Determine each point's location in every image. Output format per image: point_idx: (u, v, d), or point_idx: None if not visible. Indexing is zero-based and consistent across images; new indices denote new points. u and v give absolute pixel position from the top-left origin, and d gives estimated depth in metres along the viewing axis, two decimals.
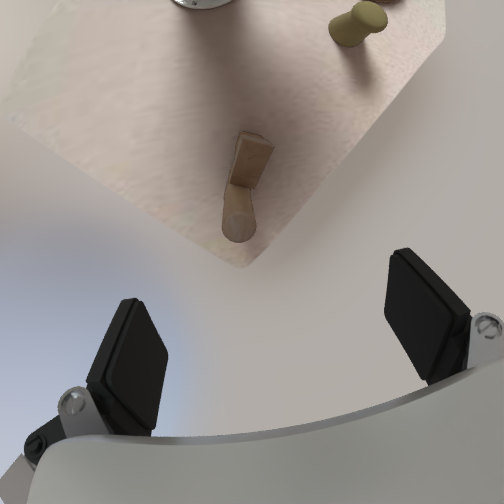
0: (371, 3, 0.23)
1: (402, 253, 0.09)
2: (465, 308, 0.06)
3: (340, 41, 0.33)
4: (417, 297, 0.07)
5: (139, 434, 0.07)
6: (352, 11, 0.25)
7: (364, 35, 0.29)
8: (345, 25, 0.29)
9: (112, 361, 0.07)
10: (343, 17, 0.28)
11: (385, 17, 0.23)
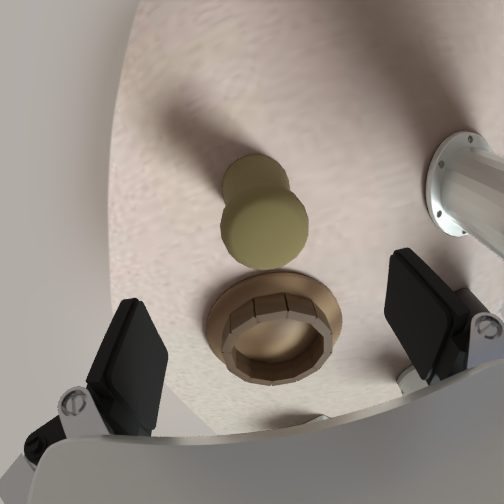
0: (284, 261, 0.16)
1: (402, 253, 0.09)
2: (465, 308, 0.06)
3: (259, 157, 0.23)
4: (417, 297, 0.07)
5: (139, 434, 0.07)
6: (305, 211, 0.16)
7: (238, 185, 0.19)
8: (282, 182, 0.19)
9: (112, 361, 0.07)
10: None
11: (238, 250, 0.16)
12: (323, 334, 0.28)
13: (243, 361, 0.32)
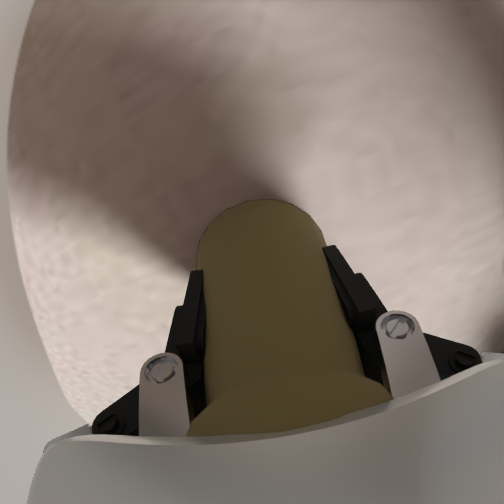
0: None
1: (325, 250, 0.10)
2: (371, 305, 0.07)
3: (272, 210, 0.11)
4: None
5: None
6: None
7: (224, 322, 0.07)
8: (336, 299, 0.08)
9: (199, 324, 0.08)
10: None
11: None
12: None
13: None
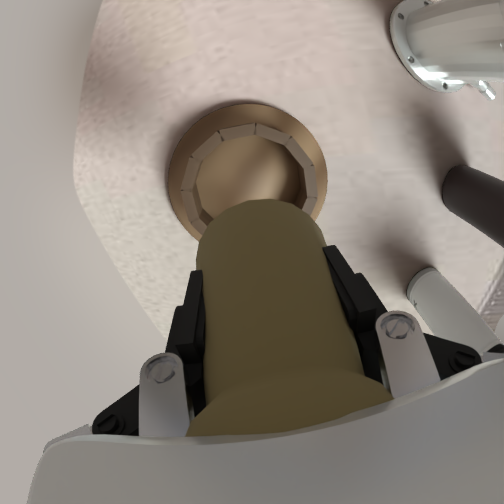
0: None
1: (325, 250, 0.10)
2: (371, 305, 0.07)
3: (272, 209, 0.11)
4: None
5: None
6: None
7: (224, 322, 0.07)
8: (336, 298, 0.08)
9: (200, 324, 0.08)
10: None
11: None
12: (302, 164, 0.24)
13: (210, 220, 0.27)
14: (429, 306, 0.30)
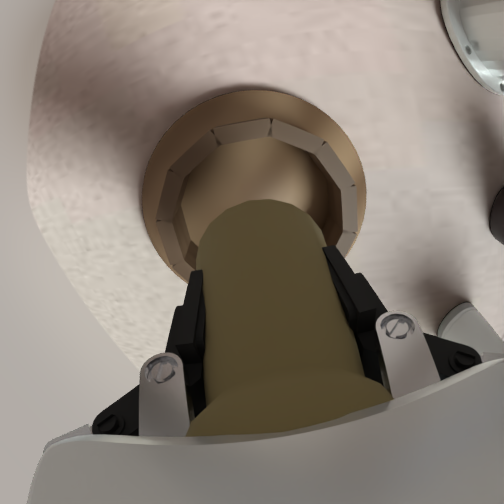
0: None
1: (325, 250, 0.10)
2: (371, 305, 0.07)
3: (272, 210, 0.11)
4: None
5: None
6: None
7: (224, 322, 0.07)
8: (336, 299, 0.08)
9: (200, 324, 0.08)
10: None
11: None
12: (340, 184, 0.15)
13: None
14: None
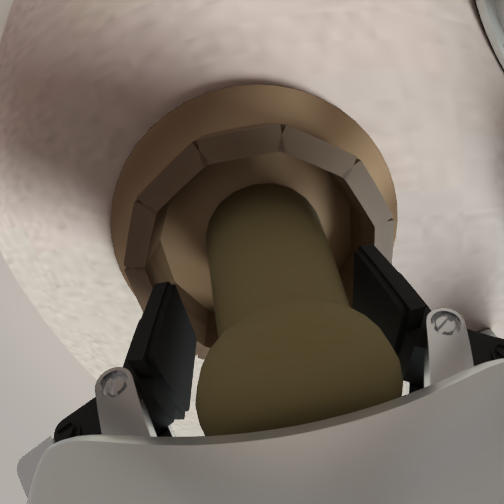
0: None
1: (364, 249, 0.09)
2: (420, 303, 0.06)
3: (274, 191, 0.12)
4: (376, 292, 0.08)
5: None
6: None
7: (235, 274, 0.09)
8: (328, 258, 0.09)
9: (153, 340, 0.07)
10: None
11: None
12: (374, 219, 0.11)
13: (189, 309, 0.15)
14: None
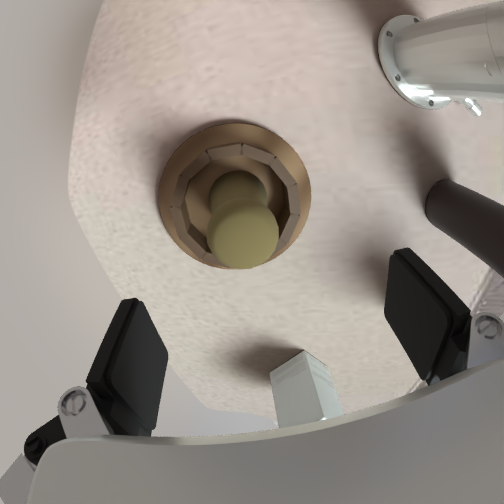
0: (257, 261, 0.20)
1: (402, 253, 0.09)
2: (465, 308, 0.06)
3: (240, 173, 0.26)
4: (417, 297, 0.07)
5: (139, 434, 0.07)
6: (275, 221, 0.20)
7: (221, 199, 0.23)
8: (258, 195, 0.23)
9: (112, 361, 0.07)
10: None
11: (220, 253, 0.19)
12: (286, 183, 0.25)
13: (198, 235, 0.29)
14: None
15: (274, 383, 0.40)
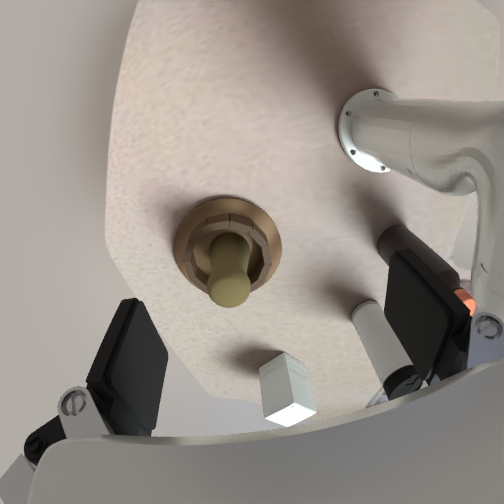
0: (237, 304, 0.33)
1: (402, 253, 0.09)
2: (465, 308, 0.06)
3: (230, 235, 0.39)
4: (417, 297, 0.07)
5: (139, 434, 0.07)
6: (248, 279, 0.33)
7: (216, 260, 0.36)
8: (240, 257, 0.36)
9: (112, 361, 0.07)
10: (247, 265, 0.37)
11: (215, 299, 0.32)
12: (260, 245, 0.38)
13: (202, 275, 0.42)
14: (363, 331, 0.45)
15: (261, 376, 0.53)
